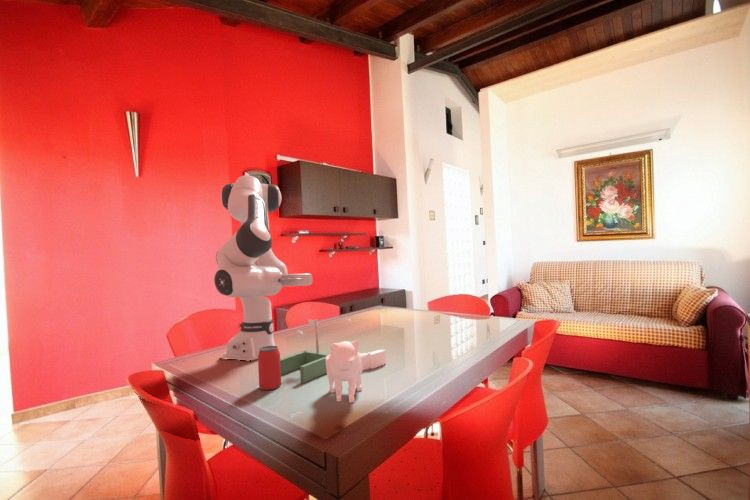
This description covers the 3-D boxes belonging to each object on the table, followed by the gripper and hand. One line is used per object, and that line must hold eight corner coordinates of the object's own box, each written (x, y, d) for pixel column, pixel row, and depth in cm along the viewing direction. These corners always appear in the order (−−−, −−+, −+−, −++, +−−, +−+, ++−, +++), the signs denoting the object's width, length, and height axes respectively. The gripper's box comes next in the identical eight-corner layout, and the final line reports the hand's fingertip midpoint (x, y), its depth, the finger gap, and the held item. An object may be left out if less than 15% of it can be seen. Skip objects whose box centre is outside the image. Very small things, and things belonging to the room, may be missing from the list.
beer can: (275, 391, 107) (273, 351, 107) (255, 390, 108) (253, 350, 108) (285, 383, 113) (283, 345, 113) (265, 382, 114) (264, 345, 114)
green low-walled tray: (304, 382, 113) (301, 328, 113) (274, 375, 121) (272, 325, 121) (334, 369, 125) (332, 320, 125) (306, 364, 133) (304, 318, 133)
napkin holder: (388, 362, 132) (387, 346, 132) (392, 371, 121) (391, 354, 121) (348, 364, 131) (347, 349, 131) (347, 375, 120) (347, 357, 120)
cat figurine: (325, 381, 113) (323, 328, 114) (358, 377, 115) (356, 325, 115) (328, 415, 89) (325, 348, 89) (370, 410, 90) (366, 344, 91)
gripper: (292, 269, 104) (323, 269, 116) (247, 271, 115) (279, 271, 126) (293, 290, 103) (324, 288, 115) (247, 291, 114) (280, 289, 126)
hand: (300, 279), depth 121 cm, fingers open, 8 cm apart
